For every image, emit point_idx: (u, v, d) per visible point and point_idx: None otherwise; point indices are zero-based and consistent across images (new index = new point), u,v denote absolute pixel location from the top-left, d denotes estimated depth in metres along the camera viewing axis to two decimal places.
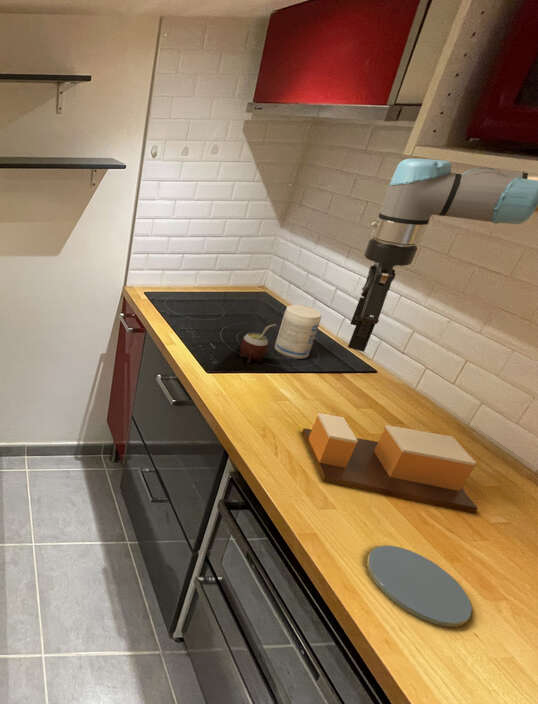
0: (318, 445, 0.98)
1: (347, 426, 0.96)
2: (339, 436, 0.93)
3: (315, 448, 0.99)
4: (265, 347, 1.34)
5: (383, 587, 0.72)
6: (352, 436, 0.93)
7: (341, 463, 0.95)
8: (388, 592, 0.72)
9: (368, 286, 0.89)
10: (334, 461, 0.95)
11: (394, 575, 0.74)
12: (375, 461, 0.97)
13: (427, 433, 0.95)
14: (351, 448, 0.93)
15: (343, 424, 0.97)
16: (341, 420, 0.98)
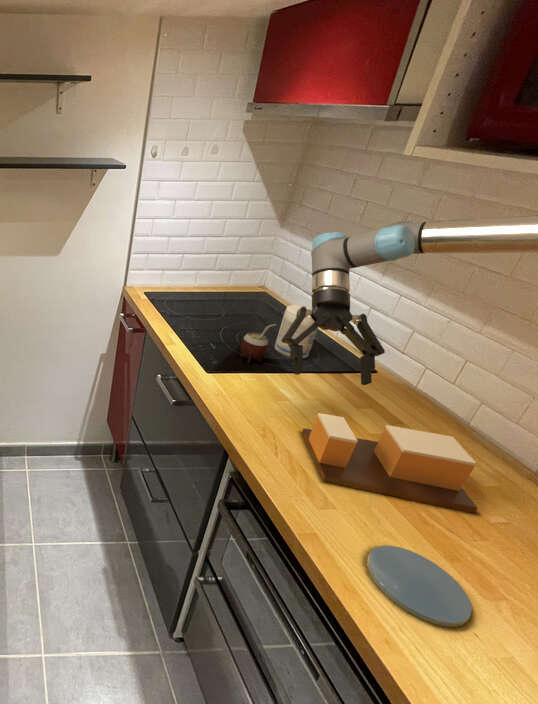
0: (318, 445, 0.98)
1: (347, 426, 0.96)
2: (339, 436, 0.93)
3: (315, 448, 0.99)
4: (265, 347, 1.34)
5: (383, 587, 0.72)
6: (352, 436, 0.93)
7: (341, 463, 0.95)
8: (388, 592, 0.72)
9: None
10: (334, 461, 0.95)
11: (394, 575, 0.74)
12: (375, 461, 0.97)
13: (427, 433, 0.95)
14: (351, 448, 0.93)
15: (343, 424, 0.97)
16: (341, 420, 0.98)
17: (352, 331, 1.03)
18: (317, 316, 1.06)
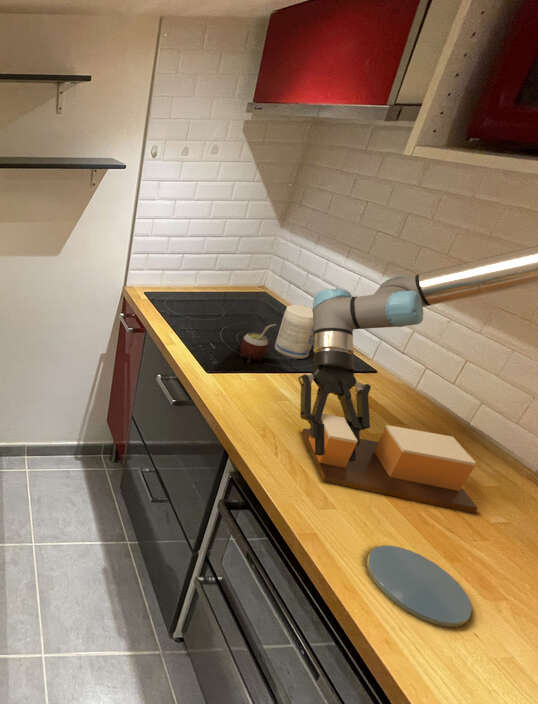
0: None
1: (347, 426, 0.96)
2: (339, 436, 0.93)
3: None
4: (265, 347, 1.34)
5: (383, 587, 0.72)
6: (352, 436, 0.93)
7: (341, 463, 0.95)
8: (388, 592, 0.72)
9: None
10: (334, 461, 0.95)
11: (394, 575, 0.74)
12: (375, 461, 0.97)
13: (427, 433, 0.95)
14: (351, 448, 0.93)
15: (343, 424, 0.97)
16: (341, 420, 0.98)
17: (347, 399, 0.98)
18: (321, 379, 1.01)
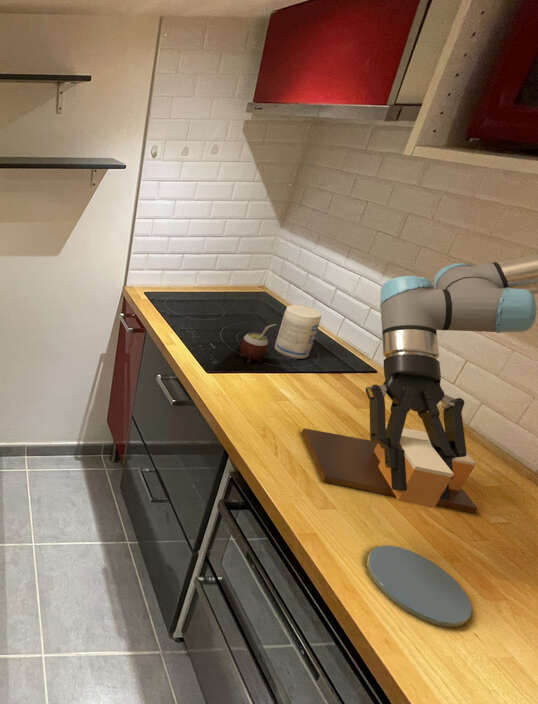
0: None
1: (435, 453, 0.74)
2: (428, 467, 0.71)
3: None
4: (265, 347, 1.34)
5: (383, 587, 0.72)
6: (445, 467, 0.71)
7: (428, 502, 0.73)
8: (388, 592, 0.72)
9: None
10: (419, 498, 0.73)
11: (394, 575, 0.74)
12: (375, 461, 0.97)
13: None
14: (444, 483, 0.71)
15: (429, 450, 0.75)
16: (425, 445, 0.76)
17: (434, 418, 0.76)
18: (398, 392, 0.78)
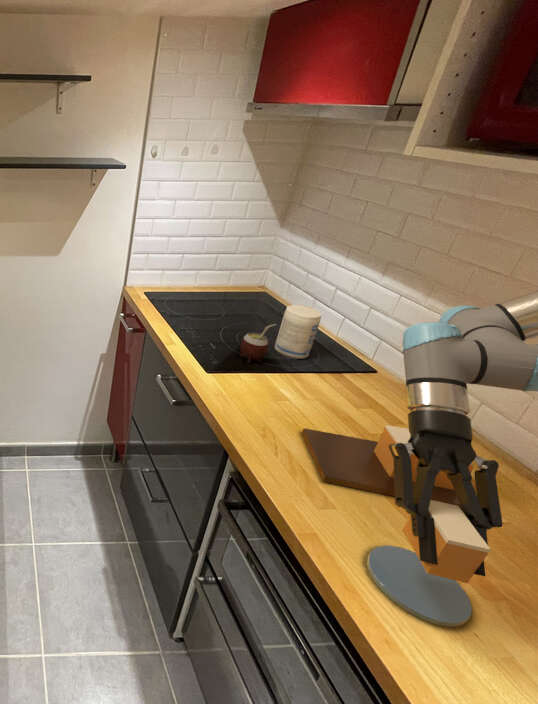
0: None
1: (468, 522, 0.68)
2: (462, 541, 0.65)
3: (418, 549, 0.70)
4: (265, 347, 1.34)
5: (383, 587, 0.72)
6: (481, 541, 0.65)
7: (460, 577, 0.67)
8: (388, 592, 0.72)
9: None
10: (451, 573, 0.67)
11: (394, 575, 0.74)
12: (375, 461, 0.97)
13: None
14: (479, 559, 0.65)
15: (461, 519, 0.68)
16: (456, 511, 0.69)
17: (466, 482, 0.69)
18: (425, 451, 0.72)
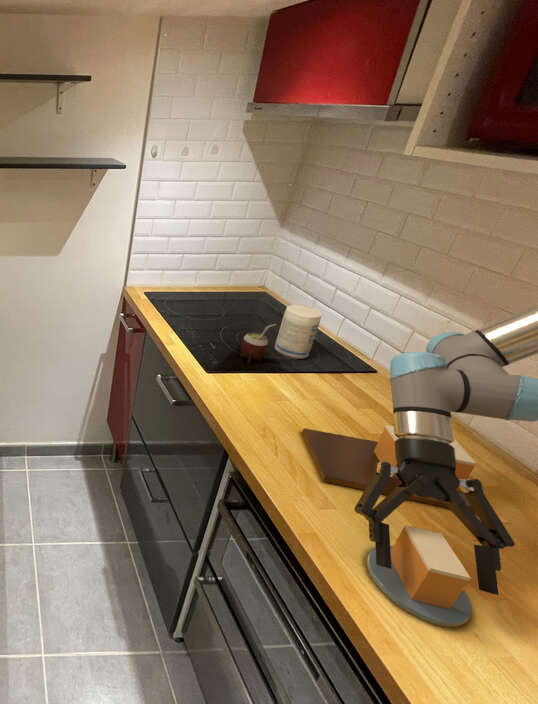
0: (408, 572, 0.72)
1: (450, 550, 0.70)
2: (443, 569, 0.67)
3: (403, 575, 0.73)
4: (265, 347, 1.34)
5: (383, 587, 0.72)
6: (461, 569, 0.67)
7: (443, 603, 0.69)
8: (388, 592, 0.72)
9: None
10: (434, 599, 0.69)
11: (394, 575, 0.74)
12: (375, 461, 0.97)
13: None
14: (460, 586, 0.67)
15: (444, 546, 0.71)
16: (439, 539, 0.72)
17: (462, 507, 0.71)
18: (407, 478, 0.74)
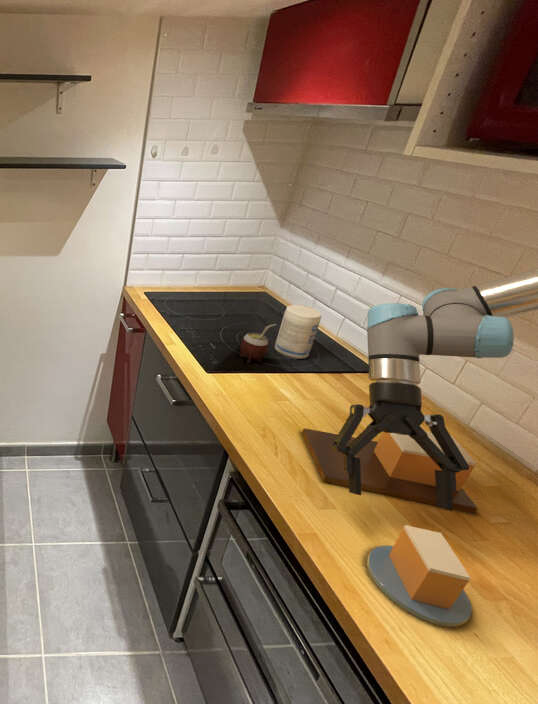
0: (408, 572, 0.72)
1: (450, 550, 0.70)
2: (443, 569, 0.67)
3: (403, 575, 0.73)
4: (265, 347, 1.34)
5: (383, 587, 0.72)
6: (461, 569, 0.67)
7: (443, 603, 0.69)
8: (388, 592, 0.72)
9: None
10: (434, 599, 0.69)
11: (394, 575, 0.74)
12: (375, 461, 0.97)
13: (427, 433, 0.95)
14: (460, 586, 0.67)
15: (444, 546, 0.71)
16: (439, 539, 0.72)
17: (425, 439, 0.81)
18: (378, 417, 0.84)
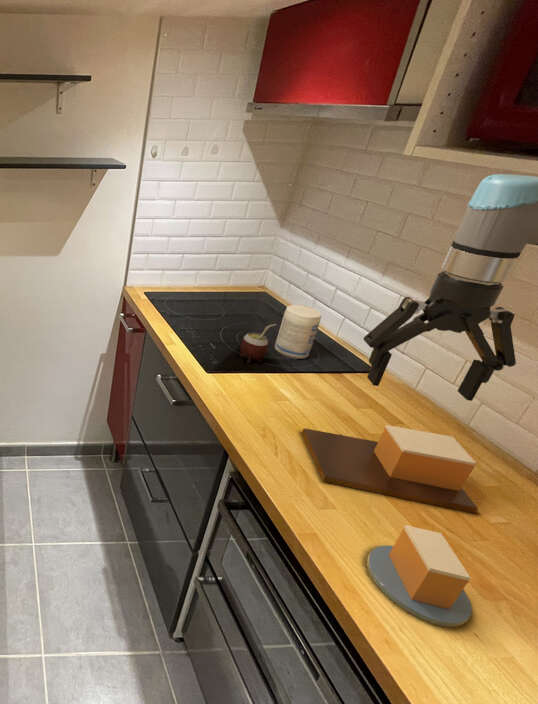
0: (408, 572, 0.72)
1: (450, 550, 0.70)
2: (443, 569, 0.67)
3: (403, 575, 0.73)
4: (265, 347, 1.34)
5: (383, 587, 0.72)
6: (461, 569, 0.67)
7: (443, 603, 0.69)
8: (388, 592, 0.72)
9: (415, 318, 0.76)
10: (434, 599, 0.69)
11: (394, 575, 0.74)
12: (375, 461, 0.97)
13: (427, 433, 0.95)
14: (460, 586, 0.67)
15: (444, 546, 0.71)
16: (439, 539, 0.72)
17: (478, 337, 0.72)
18: (431, 315, 0.73)
